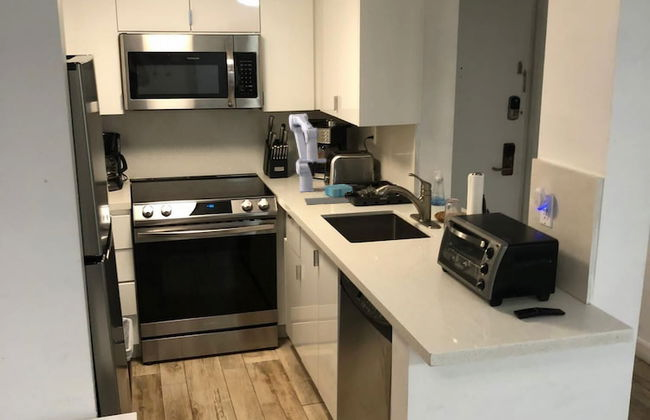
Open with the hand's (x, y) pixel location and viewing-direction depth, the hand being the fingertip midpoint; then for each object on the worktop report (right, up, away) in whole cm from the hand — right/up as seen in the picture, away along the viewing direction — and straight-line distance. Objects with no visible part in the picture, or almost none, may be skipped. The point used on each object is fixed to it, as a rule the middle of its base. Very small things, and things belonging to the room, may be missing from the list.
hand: (313, 176), depth 359 cm
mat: (+7, -13, -11) cm, 19 cm away
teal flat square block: (+8, -8, -1) cm, 12 cm away
